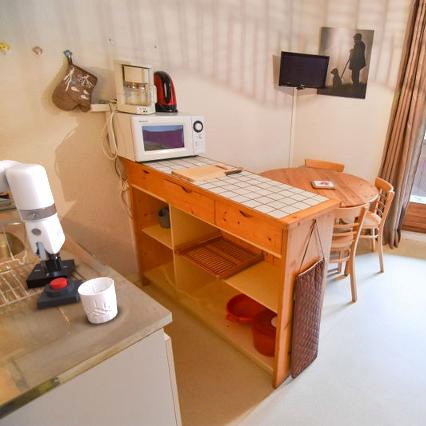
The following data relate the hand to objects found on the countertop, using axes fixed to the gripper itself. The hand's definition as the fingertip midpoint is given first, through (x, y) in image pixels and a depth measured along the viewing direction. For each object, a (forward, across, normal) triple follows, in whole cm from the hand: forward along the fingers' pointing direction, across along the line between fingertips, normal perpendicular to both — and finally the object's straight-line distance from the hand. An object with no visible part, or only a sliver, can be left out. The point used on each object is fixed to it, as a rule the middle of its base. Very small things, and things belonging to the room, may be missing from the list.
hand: (56, 270), depth 91 cm
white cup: (+10, -13, -12) cm, 20 cm away
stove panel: (+9, +12, +5) cm, 16 cm away
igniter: (+9, 0, 0) cm, 9 cm away
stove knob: (+6, +12, +5) cm, 15 cm away
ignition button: (+6, 0, 0) cm, 6 cm away
